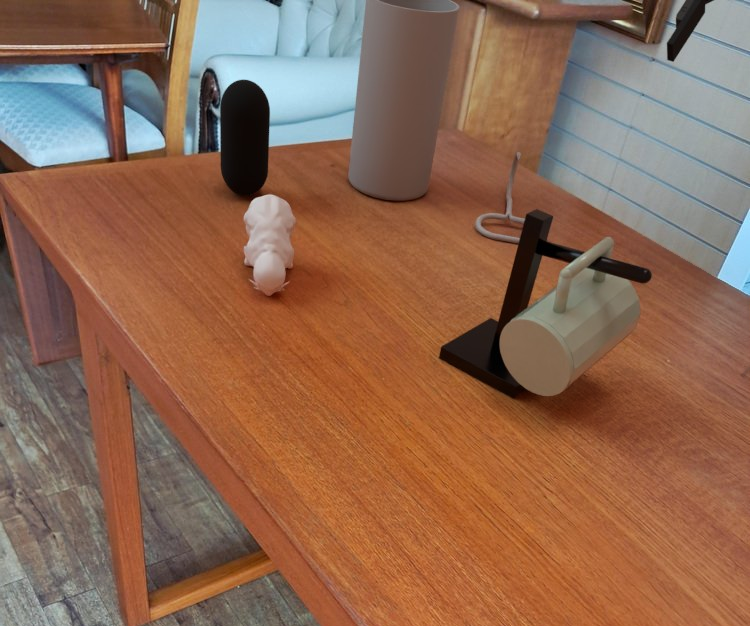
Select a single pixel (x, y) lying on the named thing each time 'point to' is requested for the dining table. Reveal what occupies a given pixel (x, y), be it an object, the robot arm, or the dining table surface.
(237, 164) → the decorative object
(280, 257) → the white animal figurine
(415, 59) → the cylinder vase
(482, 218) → the hook
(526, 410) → the dining table surface
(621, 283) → the mug
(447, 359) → the mug stand
